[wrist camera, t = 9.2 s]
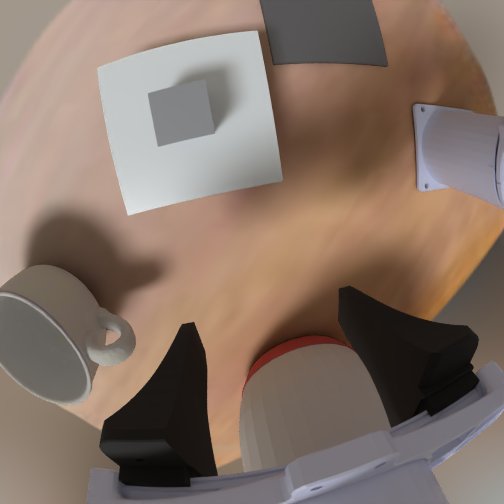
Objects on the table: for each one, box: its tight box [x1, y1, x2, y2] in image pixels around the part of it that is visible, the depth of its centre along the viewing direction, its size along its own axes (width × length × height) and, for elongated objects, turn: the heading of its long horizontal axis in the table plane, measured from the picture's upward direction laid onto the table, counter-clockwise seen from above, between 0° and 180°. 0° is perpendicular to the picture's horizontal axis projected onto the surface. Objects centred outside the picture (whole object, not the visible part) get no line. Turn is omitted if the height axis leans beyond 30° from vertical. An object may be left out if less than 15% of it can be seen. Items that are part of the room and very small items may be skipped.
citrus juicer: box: [239, 335, 391, 472], centre depth 20 cm, size 16×17×20 cm
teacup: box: [0, 265, 136, 405], centre depth 18 cm, size 14×11×8 cm
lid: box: [97, 31, 283, 215], centre depth 12 cm, size 9×9×4 cm
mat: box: [260, 0, 388, 67], centre depth 14 cm, size 10×10×1 cm
